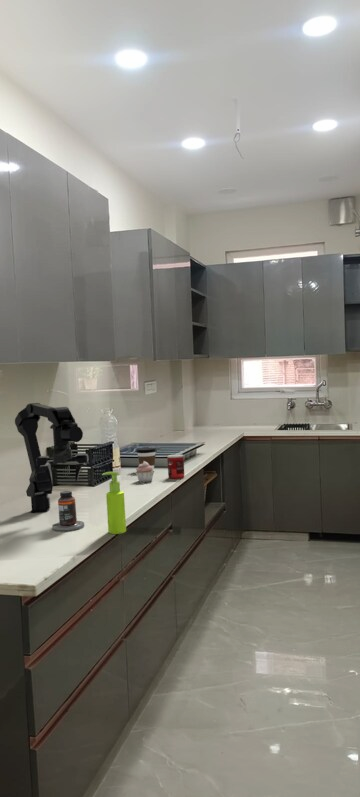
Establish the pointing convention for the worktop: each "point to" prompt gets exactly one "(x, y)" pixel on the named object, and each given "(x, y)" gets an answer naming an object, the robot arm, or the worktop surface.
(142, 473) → the cupcake
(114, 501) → the soap dispenser
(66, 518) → the supplement bottle
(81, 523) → the dark gray plate
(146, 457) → the coffee cup
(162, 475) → the worktop surface
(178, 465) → the canned food
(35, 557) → the worktop surface
